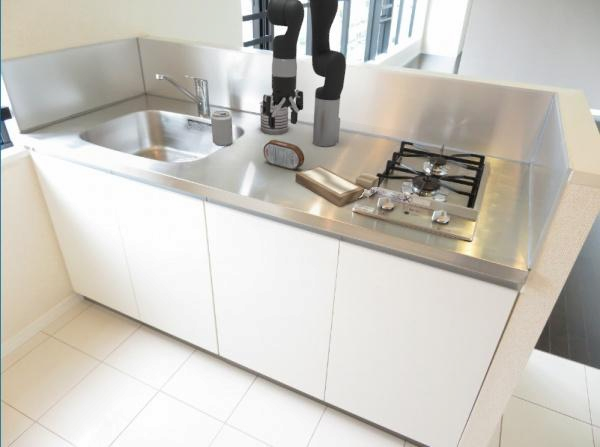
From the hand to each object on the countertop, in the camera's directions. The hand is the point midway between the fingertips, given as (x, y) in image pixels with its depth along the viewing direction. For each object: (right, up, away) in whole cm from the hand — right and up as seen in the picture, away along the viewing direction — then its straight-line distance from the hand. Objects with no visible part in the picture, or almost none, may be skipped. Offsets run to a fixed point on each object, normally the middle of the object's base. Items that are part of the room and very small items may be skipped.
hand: (282, 125), depth 134 cm
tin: (0, -12, +7) cm, 14 cm away
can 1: (-24, -1, +24) cm, 34 cm away
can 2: (-5, +6, +37) cm, 38 cm away
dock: (+14, -21, -7) cm, 26 cm away
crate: (+26, -22, -7) cm, 35 cm away
